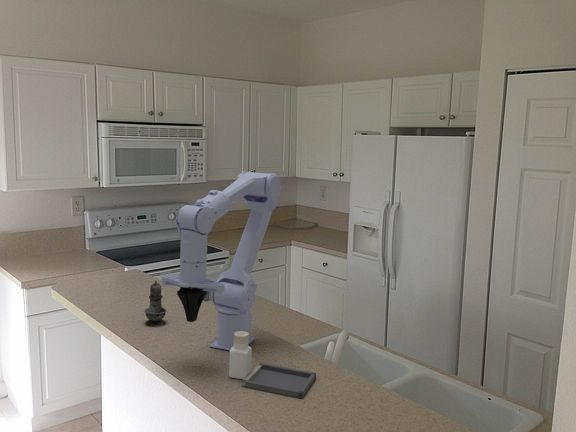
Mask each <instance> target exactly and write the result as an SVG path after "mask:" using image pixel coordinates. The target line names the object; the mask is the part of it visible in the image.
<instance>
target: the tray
mask: <svg viewBox="0 0 576 432" xmlns="http://www.w3.org/2000/svg"><path fill="white" fill-rule="evenodd" d="M316 379H317V372H311V371H307V370H301V369H295V368H291V367H286V366H279V365H275V364H269V363H263V362H260V363H259V364H258V365H257V366H255V368H253V370H251V373H250V374H249V375H248V376H247V377H246V378H245V379H242V381H241V387H242V388H249V389H253V390H258V391H260V392H261V391H263V392H268V393H272V394H275V395H276V394H277V395H281V396H286V397H291V398H295V397H296V398H295V399H300V398H301V400H302V399H304V397H303V396H305V395H306V394H307V392H308V391H309V390H310V388H311V386H313V383H314V382H315V380H316Z"/></svg>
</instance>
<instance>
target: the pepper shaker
mask: <svg viewBox="0 0 576 432" xmlns="http://www.w3.org/2000/svg"><path fill="white" fill-rule="evenodd" d="M248 339H249V333H247V332H245V331H238V332H235V333H234V346H233V347H232V348H231V349H230V350H229V362H228V365H229V366H228V376H229V378H232V379H238V380H244V379H245V378H246V377H247V376H248V375H249V374H250V373H251V372H252V352H253V351H252V350H253V349H252V347H251V346H250V345H249V344H248V342H249V341H248Z"/></svg>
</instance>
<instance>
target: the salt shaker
mask: <svg viewBox="0 0 576 432" xmlns="http://www.w3.org/2000/svg"><path fill="white" fill-rule="evenodd" d="M149 289H150V290H149V292H150V293H149V296H148V299H149V307H148V308H146V309H144V312H143V313H144V314H145V316H146V318H147V319H148V320H146V321H145V325H146V326H148V327H151V328H152V327H153V328H154V327H162V326H164V325H166V321H165V320H163V319H164V318H165V316H166V313H167V312H168V311H167V309H166V308H165V307H163V305H162V299H163V297H164V296H163V295H162V284H160V283H158V281H157V280H154V283H152V284H151V285H150V287H149Z"/></svg>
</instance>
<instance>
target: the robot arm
mask: <svg viewBox="0 0 576 432" xmlns="http://www.w3.org/2000/svg"><path fill="white" fill-rule="evenodd" d="M281 183H282V182H281V179H280V177H279V175H278V174H277V173H264V172H252V171H247V170H244V171H242V172H241V173H239V174H238V175H237V177H236V180H234V182H232V183H231V184H229V185H228V186H227V187H225V189H223V190H222V191H221V190H215V189H214V190H213V189H211V190H210V191H208V194H207V195H205V196H204V197H203V198H201V199H197V200H196V201H195V203H194V204H186V205H184V206H182V207H181V208H179V209H178V211H177V214H176V217H175V218H174V224H175V226H176V228H177V231H178V237H179V239H180V247H179V248H180V253H179V256H180V257H179V275H170V274H166V275H164V276H162V277H161V286H166V287H167V286H173V287H178V288H179V290H177V291H176V295H177V297H178V298H179V300H180V302H181V304H182V307H183V310H184V313H185V318H186V321H187V323H188V322H189V323H193V322H196V321H197V320H198V315H199V312H200V309H201V307H202V306H201V305H202V303H203V301H204V299H205V298H206V295H207V294H208V292H210V299H211V300H210V301H211V302H212V304H213V305H214V306H215V308H214V309H215V310H217V326H216V330H217V331H216V340H215V341H214V342H212V343H211V344H210V348H215V349H219V350H227V351H230V349H231V348H232V347H233V346H234V333H235V332H238V331H245V332H247V333H249V339H248V341H249V342H248V345H249V344H251V343H252V342H253V341H255V337H254V336H252V318H253V315H252V312H251V309H252V308H253V306H254V304H255V301H256V292H257V287H258V284H257V283H256V280H255V279H254V278H253V277H252V272H253V269H254V266H255V263H256V260H257V257H258V254H259V252H260V249H261V246H262V243H263V240H264V237H265V235H266V234H265V233H266V231H267V228H268V226H269V222H270V220H271V217H272V214H273V211H274V210H276V207H277V204H278V200H279V198H280V195H281V192H282V190H283V189H282V184H281ZM240 199H241V200H242V201H243V202H244V205H245V207H247V208H248V209H249V210H250V211H249V216H248V218H247V221H246V224H245V227H244V229H243V232H242V235H241V238H240V240H239V244H238V246H237V249H236V252H235V254H234V257H233V259H232V263H231V266H230V268H228V269H226V270H225V271H223V272H221V273H220V274H219V276H218V278H217V280H216V281H214V280H212V279H208V278H207V262H208V261H207V260H208V233H210V232H212V231H211V230H212V229H213V227H214V224H215V223H216V222H217V220H219V219H221V217H223V216H224V215H225V214H227V213H229V212H230V209H231V204H233V203H235V202H237V201H238V200H240Z"/></svg>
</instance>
